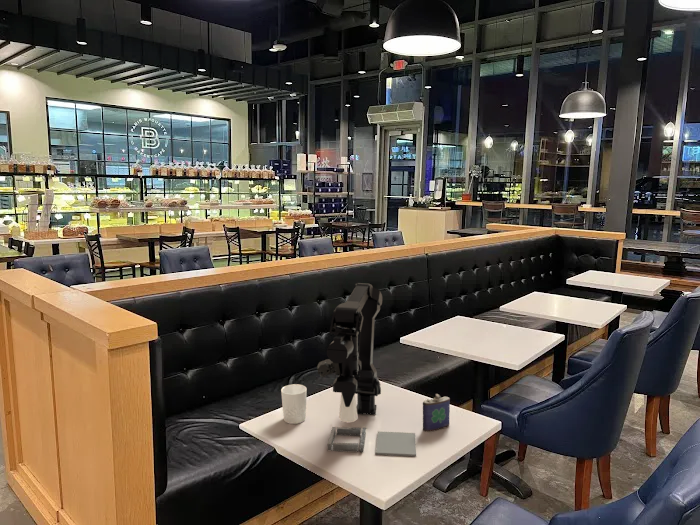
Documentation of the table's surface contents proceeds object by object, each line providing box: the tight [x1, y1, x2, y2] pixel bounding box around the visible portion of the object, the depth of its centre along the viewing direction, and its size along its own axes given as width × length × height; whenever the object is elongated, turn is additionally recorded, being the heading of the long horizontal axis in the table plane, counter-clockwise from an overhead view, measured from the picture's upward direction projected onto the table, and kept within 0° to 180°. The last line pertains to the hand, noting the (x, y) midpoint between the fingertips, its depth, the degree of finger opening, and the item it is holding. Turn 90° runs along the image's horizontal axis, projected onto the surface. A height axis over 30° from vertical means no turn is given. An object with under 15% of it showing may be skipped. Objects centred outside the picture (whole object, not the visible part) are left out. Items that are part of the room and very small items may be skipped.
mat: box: [375, 430, 417, 457], centre depth 149 cm, size 12×11×1 cm
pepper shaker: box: [338, 393, 359, 423], centre depth 148 cm, size 5×5×11 cm
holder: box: [327, 426, 367, 453], centre depth 150 cm, size 10×10×2 cm
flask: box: [422, 393, 451, 433], centre depth 158 cm, size 9×3×11 cm, turn 114°
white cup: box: [280, 383, 308, 425], centre depth 164 cm, size 8×8×10 cm
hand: (348, 403), depth 149 cm, fingers closed on pepper shaker, 4 cm apart
